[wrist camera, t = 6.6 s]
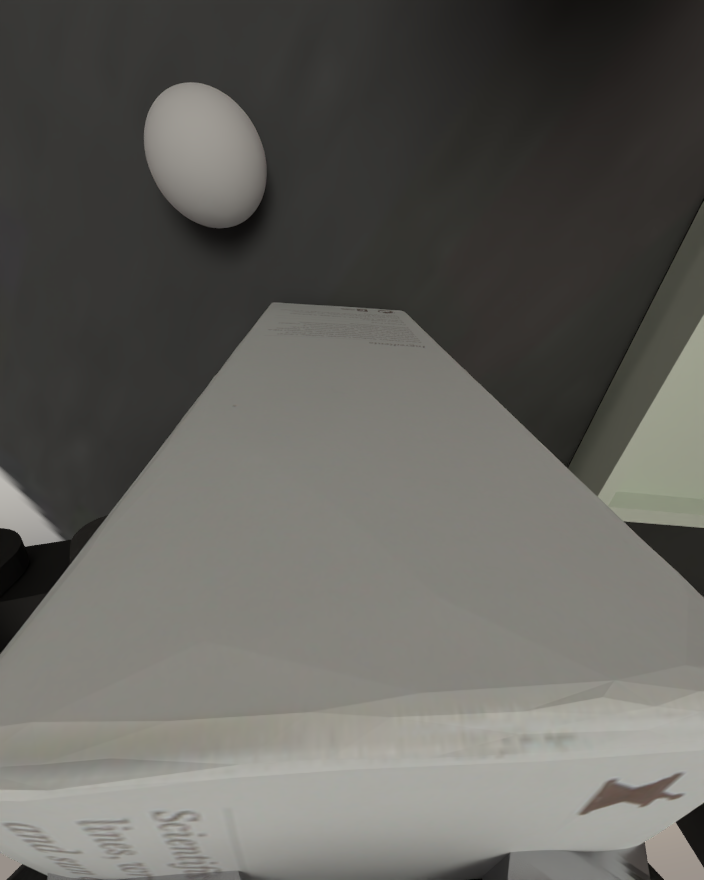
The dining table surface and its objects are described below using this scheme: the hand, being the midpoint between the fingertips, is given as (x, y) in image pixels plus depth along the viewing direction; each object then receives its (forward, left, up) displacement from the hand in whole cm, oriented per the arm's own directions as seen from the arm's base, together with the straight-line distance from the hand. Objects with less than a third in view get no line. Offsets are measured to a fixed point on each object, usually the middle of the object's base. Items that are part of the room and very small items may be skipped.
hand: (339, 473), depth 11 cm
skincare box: (0, 0, -7) cm, 7 cm away
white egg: (-8, -5, -5) cm, 11 cm away
